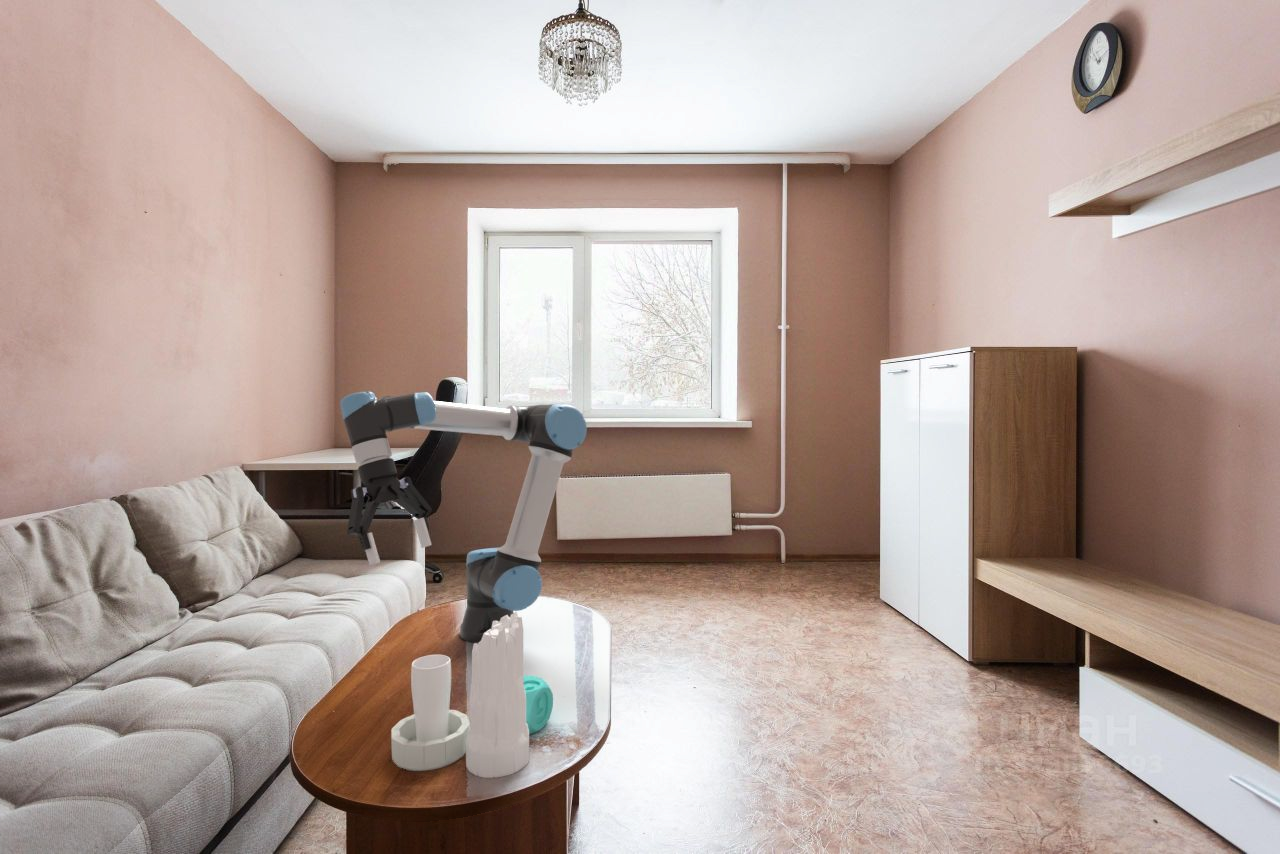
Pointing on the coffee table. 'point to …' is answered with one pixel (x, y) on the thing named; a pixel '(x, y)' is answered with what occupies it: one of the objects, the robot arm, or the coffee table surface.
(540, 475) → the robot arm
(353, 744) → the coffee table surface
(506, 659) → the decorative vase
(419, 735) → the drinking glass
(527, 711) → the decorative dice
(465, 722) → the dish
